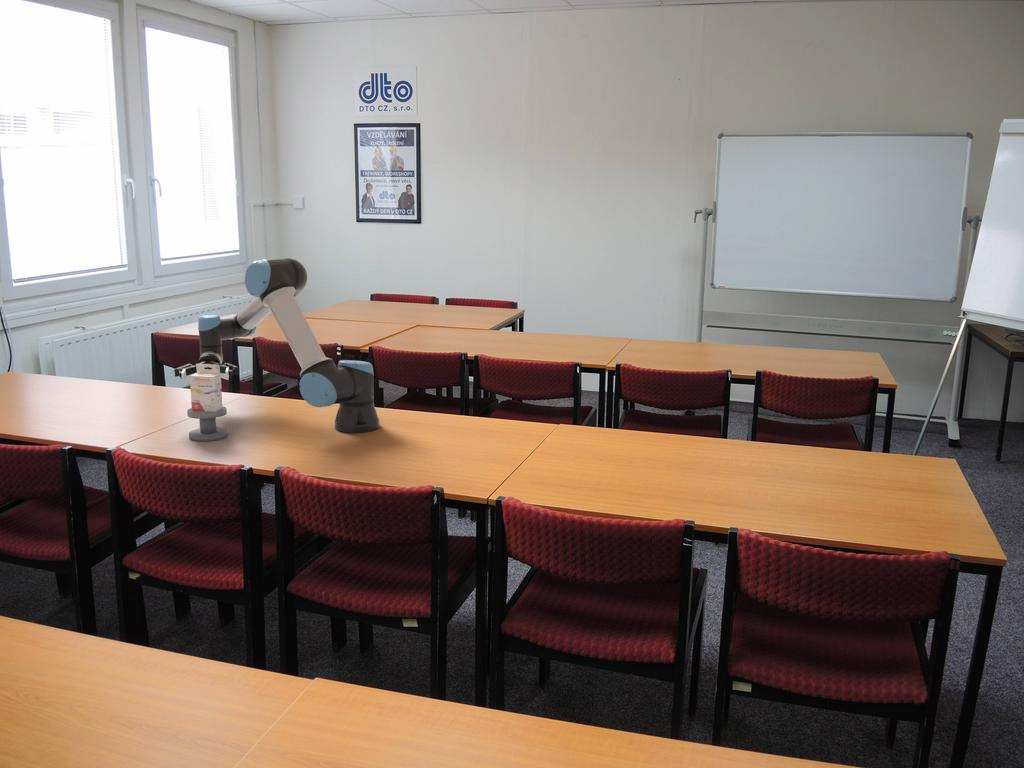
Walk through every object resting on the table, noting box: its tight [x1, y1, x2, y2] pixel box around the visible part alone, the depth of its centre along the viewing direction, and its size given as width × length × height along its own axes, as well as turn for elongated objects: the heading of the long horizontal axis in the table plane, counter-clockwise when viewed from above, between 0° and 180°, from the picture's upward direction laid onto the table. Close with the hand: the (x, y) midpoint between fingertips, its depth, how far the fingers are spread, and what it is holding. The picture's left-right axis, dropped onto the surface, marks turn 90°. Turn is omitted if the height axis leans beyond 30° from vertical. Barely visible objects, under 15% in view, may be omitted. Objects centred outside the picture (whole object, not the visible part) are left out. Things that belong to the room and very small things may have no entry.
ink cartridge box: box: [189, 363, 223, 412], centre depth 269 cm, size 9×5×15 cm, turn 84°
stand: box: [186, 405, 229, 442], centre depth 271 cm, size 12×12×9 cm
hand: (205, 376), depth 272 cm, fingers open, 13 cm apart
